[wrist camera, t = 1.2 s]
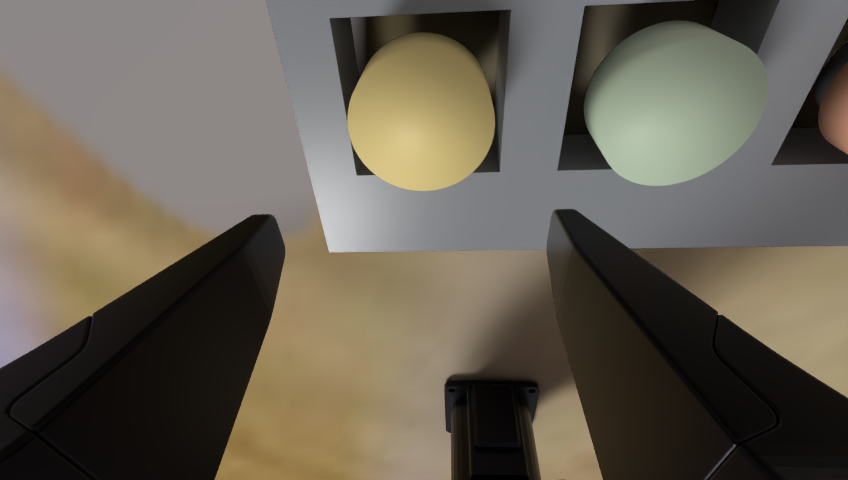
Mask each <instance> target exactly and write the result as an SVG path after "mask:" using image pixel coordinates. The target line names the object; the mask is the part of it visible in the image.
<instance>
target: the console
mask: <svg viewBox="0 0 848 480" xmlns="http://www.w3.org/2000/svg"><path fill="white" fill-rule="evenodd" d="M673 1H693V0H266V4H267V7H268V11H269V16H270V19H271V23H272V27H273V31H274V35H275V39H276V43H277V47H278V51H279V55H280V59H281V63H282V67H283V70H284V75H285V78H286V83H287V87H288V91H289V95H290V99H291V103H292V107H293V111H294V115H295V118H296V123H297V126H298V130H299V134H300V138H301V142H302V146H303V150H304V154H305V158H306V162H307V166H308V170H309V174H310V178H311V182H312V186H313V190H314V194H315V198H316V202H317V206H318V210H319V214H320V218H321V222H322V226H323V230H324V233H325V237H326V241H327V245H328V249H329V252H389V251H468V250H547V238H548V232H549V226H550V220H551V215H552V213H553V211H554V210H555V209H575V210H577V211H578V212H580V213H581V214H583V215H584V216H585V217H587V218H588V219H590V220H591V221H592V222H594V223H595V224H596V225H598V226H599V227H601V228H602V229H603V230H605V231H606V232H608V233H609V234H610V235H612V236H613V237H615V238H616V239H617V240H619V241H620V242H622V243H623V244H624V245H626V246H627V247H628V248H706V247H785V246H848V154H846V153H844V152H843V151H841V150H840V149H838V148H836V147H835V146H833V145H832V144H830V143H829V142H828V141H827V140H826V139H825V138H824V137H823V135H822V134H821V131H820V129H819V127H813V128H791V126H792V124H793V122H794V120H795V118H796V116H797V114H798V112H799V110H800V108H801V107H802V105H803V103H804V101H805V99H806V97H807V95H808V93H809V91H810V89H811V87H812V85H813V84H814V82H815V80H816V78H817V76H818V74H819V72H820V70H821V68H822V66H823V64H824V62H825V60H826V59H827V57H828V55H829V53H830V51H831V49H832V47H833V45H834V43H835V41H836V39H837V37H838V36H839V34H840V32H841V30H842V28H843V26H844V24H845V22H846V20H847V18H848V0H719V3H718V5H717V8H716V11H715V14H714V17H713V20H712V23H711V26H710V29H712V30H714V31H716V32H719V33H721V34H723V35H725V36H727V37H729V38H731V39H733V40H735V41H737V42H739V43H741V44H743V45H745V46H747V47H748V48H750V49H751V50H752V51H753V52H754V53H755V54H757V56H758V57H759V58H760V60H761V61H762V63H763V65H764V67H765V69H766V73H767V77H768V97H767V102H766V105H765V109H764V111H763V114H762V116H761V119H760V120H759V122H758V124H757V126H756V128H755V129H754V131H753V132H752V134H751V135H750V137H749V138H748V139H747V140H746V141H745V143H744V144H743V145H742V146H741V147H740V148H739V149H738V150H737V151H736V152H735V153H734V154H733V155H732V156H730V157H729V158H728V159H727V160H726V161H724V162H723V163H721V164H720V165H718V166H717V167H715V168H714V169H712V170H710V171H709V172H707V173H705V174H703V175H700V176H698V177H696V178H693V179H691V180H688V181H685V182H681V183H677V184H672V185H664V186H648V185H641V184H637V183H634V182H631V181H629V180H627V179H625V178H623V177H622V176H620V175H619V174H617V173H616V172H615V171H614V170H613V169H612V168H611V166H610V165H609V164H608V162H607V161H606V159H605V157H604V156H603V154H602V153H601V151H600V149H599V148H598V146H597V144H596V143H595V141H594V140H593V138H592V136H591V135H590V134H578V135H563V133H564V127H565V121H566V115H567V109H568V103H569V97H570V91H571V85H572V79H573V73H574V67H575V61H576V55H577V49H578V43H579V37H580V31H581V25H582V19H583V13H584V7H585V6H591V5H612V4H632V3H653V2H673ZM489 10H500V15H499V34H498V52H497V70H496V89H495V107H494V114H495V130H494V137H493V140H492V144H491V146H490V149H489V151H488V153H487V155H486V157H485V158H484V160H483V161H482V163H481V164H480V165H479V166H478V167H477V168H476V169H475V170H474V171H473V172H472V173H471V174H470V175H469V176H467V177H466V178H465V179H463V180H461V181H460V182H458V183H456V184H454V185H451V186H449V187H446V188H442V189H438V190H432V191H414V190H407V189H404V188H400V187H397V186H394V185H392V184H390V183H388V182H386V181H384V180H382V179H381V178H379V177H378V176H376V175H375V174H374V173H373V172H372V171H370V170H369V169H368V168H367V167H366V165H365V164H364V163H363V162H362V161H361V159H360V158H359V156H358V155H357V153H356V151H355V149H354V147H353V145H352V142H351V139H350V135H349V131H348V122H347V120H348V108H349V103H350V100H351V96H352V94H353V92H354V90H355V88H356V85H357V83H358V81H359V75H358V69H357V62H356V55H355V48H354V41H353V34H352V27H351V20H350V17H367V16H387V15H408V14H428V13H448V12H469V11H489Z"/></svg>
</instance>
